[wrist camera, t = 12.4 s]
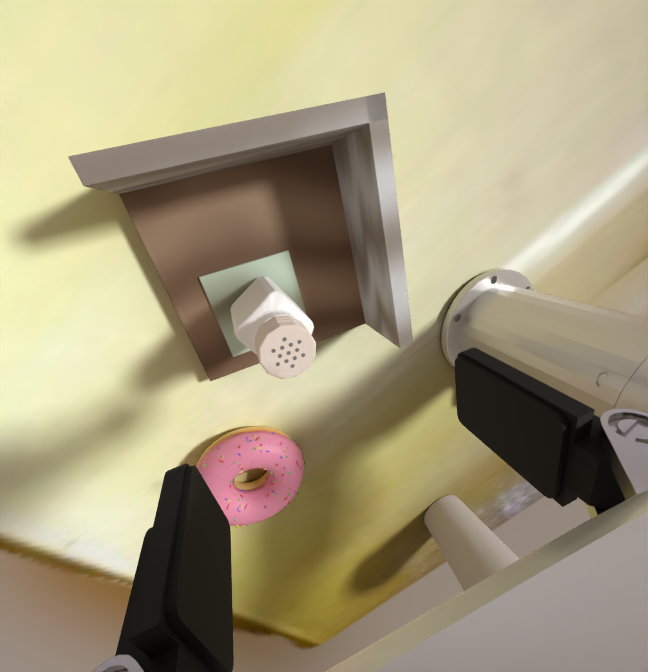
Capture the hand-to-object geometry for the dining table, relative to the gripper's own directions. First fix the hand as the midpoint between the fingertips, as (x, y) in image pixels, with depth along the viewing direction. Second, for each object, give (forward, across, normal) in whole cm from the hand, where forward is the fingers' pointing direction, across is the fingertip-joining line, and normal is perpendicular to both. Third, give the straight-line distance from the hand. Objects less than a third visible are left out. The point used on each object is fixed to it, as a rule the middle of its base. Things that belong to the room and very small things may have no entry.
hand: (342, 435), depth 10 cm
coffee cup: (+19, -15, +41) cm, 47 cm away
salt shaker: (+17, +1, 0) cm, 17 cm away
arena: (+18, -1, -3) cm, 18 cm away
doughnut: (+18, +7, +16) cm, 25 cm away
